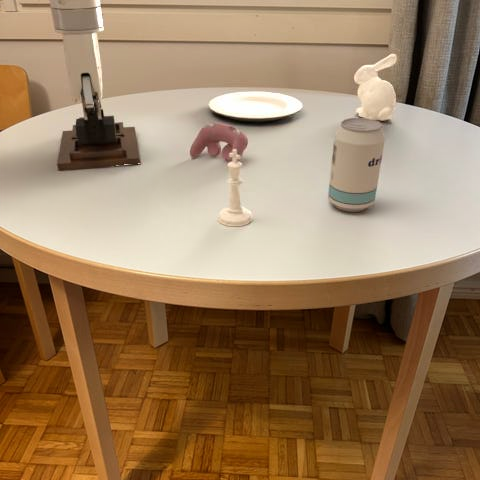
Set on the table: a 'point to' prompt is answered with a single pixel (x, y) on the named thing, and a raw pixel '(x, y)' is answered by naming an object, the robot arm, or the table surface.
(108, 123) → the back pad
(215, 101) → the plate
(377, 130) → the beverage can
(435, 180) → the table surface
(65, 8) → the robot arm
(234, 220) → the chess piece
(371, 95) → the rabbit
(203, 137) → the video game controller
